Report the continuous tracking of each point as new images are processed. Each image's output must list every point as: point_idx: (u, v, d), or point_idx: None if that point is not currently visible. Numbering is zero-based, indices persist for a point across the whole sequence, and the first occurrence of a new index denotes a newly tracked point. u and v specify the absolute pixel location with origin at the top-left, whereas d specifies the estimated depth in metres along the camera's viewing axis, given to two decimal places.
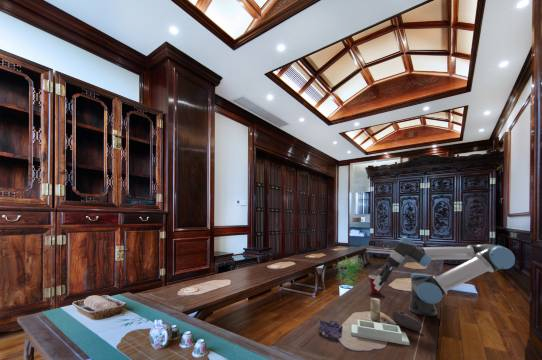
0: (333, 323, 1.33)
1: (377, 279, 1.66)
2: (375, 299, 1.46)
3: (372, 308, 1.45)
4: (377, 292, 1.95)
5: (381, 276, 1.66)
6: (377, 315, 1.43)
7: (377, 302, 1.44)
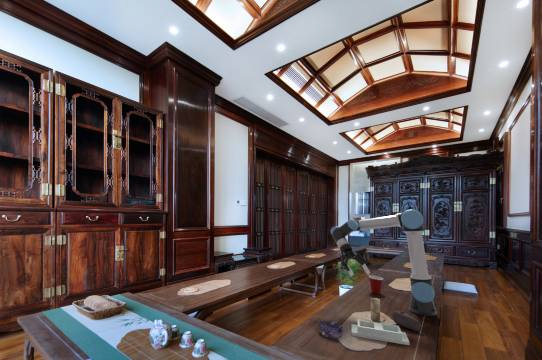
0: (333, 323, 1.32)
1: (364, 269, 1.64)
2: (375, 299, 1.46)
3: (372, 308, 1.45)
4: (377, 292, 1.95)
5: (364, 264, 1.65)
6: (377, 315, 1.43)
7: (377, 302, 1.44)
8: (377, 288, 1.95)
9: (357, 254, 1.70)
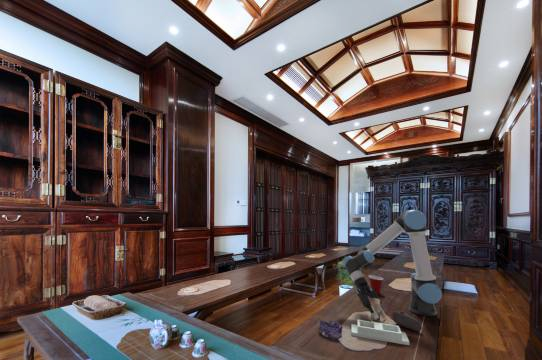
0: (333, 323, 1.32)
1: None
2: (375, 299, 1.46)
3: None
4: (377, 292, 1.95)
5: None
6: None
7: (377, 302, 1.44)
8: (377, 288, 1.95)
9: (373, 291, 1.54)
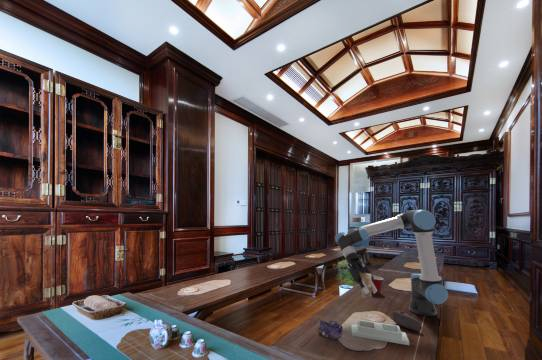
0: (333, 323, 1.32)
1: (371, 286, 1.40)
2: (366, 274, 1.41)
3: None
4: (377, 292, 1.95)
5: None
6: (368, 289, 1.37)
7: (368, 277, 1.38)
8: (377, 288, 1.95)
9: (365, 266, 1.48)
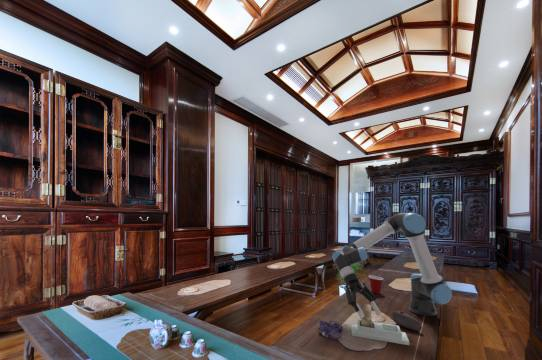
0: (333, 323, 1.32)
1: (374, 307, 1.33)
2: (366, 305, 1.31)
3: None
4: (377, 292, 1.95)
5: (372, 300, 1.35)
6: (368, 322, 1.28)
7: (368, 308, 1.29)
8: (377, 288, 1.95)
9: (365, 287, 1.40)
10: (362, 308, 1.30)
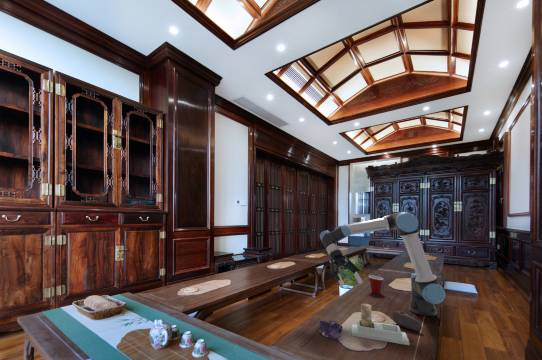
0: (333, 323, 1.32)
1: (356, 277, 1.49)
2: (366, 305, 1.31)
3: (363, 315, 1.30)
4: (377, 292, 1.95)
5: (356, 272, 1.51)
6: (368, 323, 1.28)
7: (368, 309, 1.29)
8: (377, 288, 1.95)
9: (348, 261, 1.56)
10: (362, 308, 1.30)
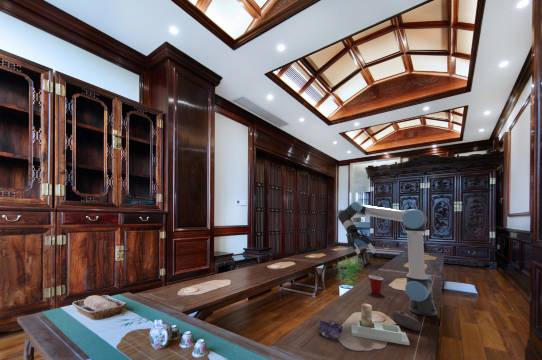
0: (333, 323, 1.32)
1: (370, 248, 1.71)
2: (366, 305, 1.31)
3: (363, 315, 1.29)
4: (377, 292, 1.95)
5: None
6: (369, 323, 1.28)
7: (369, 309, 1.29)
8: (377, 288, 1.95)
9: (363, 234, 1.78)
10: (363, 308, 1.30)
